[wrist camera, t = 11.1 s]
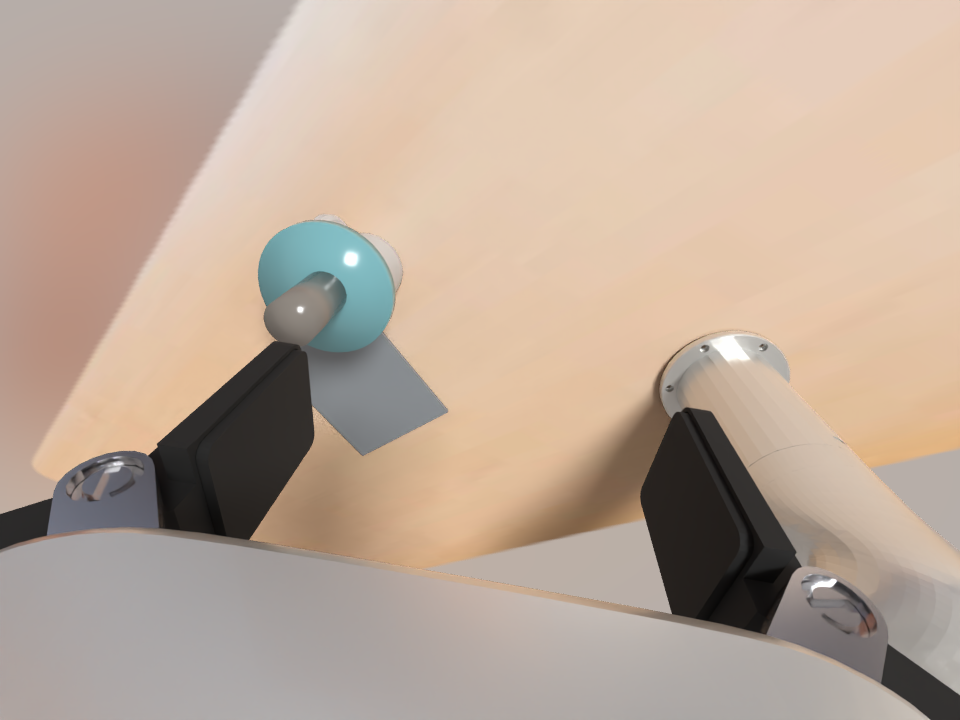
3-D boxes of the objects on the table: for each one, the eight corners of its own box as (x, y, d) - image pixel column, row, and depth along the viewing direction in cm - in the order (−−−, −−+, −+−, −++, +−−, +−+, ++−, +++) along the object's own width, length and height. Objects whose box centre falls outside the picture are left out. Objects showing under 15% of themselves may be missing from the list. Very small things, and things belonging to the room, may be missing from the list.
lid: (422, 306, 36) (399, 347, 30) (330, 365, 40) (293, 412, 34) (331, 190, 32) (284, 209, 26) (239, 268, 36) (178, 300, 30)
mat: (448, 410, 52) (447, 412, 52) (363, 453, 57) (362, 455, 57) (360, 305, 47) (359, 306, 46) (274, 363, 52) (273, 365, 51)
